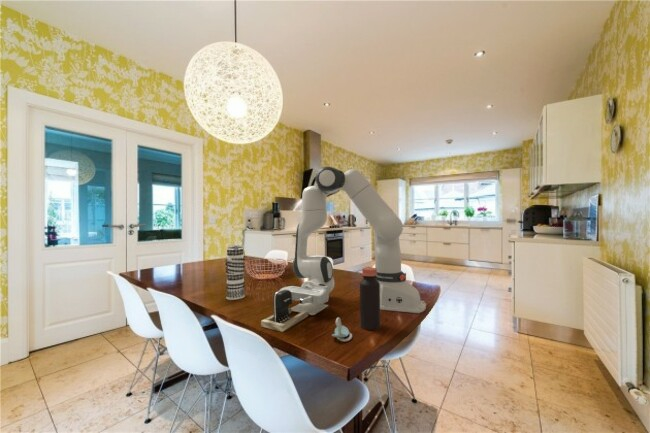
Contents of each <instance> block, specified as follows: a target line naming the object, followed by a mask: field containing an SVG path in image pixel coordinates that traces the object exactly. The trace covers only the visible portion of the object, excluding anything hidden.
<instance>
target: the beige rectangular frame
mask: <svg viewBox="0 0 650 433" xmlns="http://www.w3.org/2000/svg"><path fill="white" fill-rule="evenodd" d="M291 308H292V307H289V315H290V314H292V311H291ZM308 317H309V314H308V311H303V312H301V313H300V312H298V314H296V315H294V316H292V317H290V319H289V320H287V321H285V322H284V323H278V322H274V314H272V315H270V316H268V317H265V318H264V319H261V321H260V327H261V328H265V329H269V330H274V331H277V332H281V333H283V332H285V331H286V330H289V329H290V328H291V327H293V326H295V325H296V324H298V323H300V322H301V321H303V320H304V319H306V318H308Z"/></svg>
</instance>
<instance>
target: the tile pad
mask: <svg viewBox="0 0 650 433" xmlns="http://www.w3.org/2000/svg"><path fill="white" fill-rule="evenodd" d="M328 307H329V304H326V303H324V304H313V303H305V304H300V303H298V304H296V305H294V306H292V307H290V308H291V312H297V313H301V312H303V311H308V315H310V316H314V315H316V314H318V313H320V312H321V311H323V310H324V309H325V308H328Z"/></svg>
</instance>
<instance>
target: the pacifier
mask: <svg viewBox="0 0 650 433" xmlns="http://www.w3.org/2000/svg"><path fill="white" fill-rule="evenodd" d="M335 326H336V327H335V329H334V333H333V334H331V336H332V337H335V338H336V339H337V340H338V341H341V342H349V341H350V340H352V338H353V334H352V333H351V332H350V331H349V329H348V327H346V326H345V325H342V320H341V318H340V317H336V319H335ZM345 337H346V338H345Z"/></svg>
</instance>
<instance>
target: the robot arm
mask: <svg viewBox="0 0 650 433" xmlns="http://www.w3.org/2000/svg"><path fill="white" fill-rule="evenodd" d="M315 175H316V176H315V184H314V185H311V186H310V185H309V186H307V187H305V188H304V189H303V191H302V195H301V196H302V197H301V212H302V213H301V214H302V215H301V220H300V223H298V225H297V227H296V234H295V235H296V236H295V248H294V249H295V250H294V258H293V259H294V260H293V264H292V270H293V273H294V275H295V276H296V277H297V278H298V279H308V280H307V281H305V282H303V283H302V284H301V286H297V285H296V286H295V285H290V286H284V287H282V288H280V289H279V291H280V290H284V289H285V290H289V291H291V294H292V301H296V302H299V304H305V303H313V304H326V303H327V302H329V298H330V297H329V296H330V293H331V292H332V291H333V289H334V287H335V279H334V277H333V274H334V268H333V263H332V262H331V260H330V259H329V258H328V257H327V256H308V254H307V250H308V239H309V236H311V234H313V233H315V232H316V231H318V230H320V229H322V227H324V225H325V224H326V222H327V219H328V216H327V215H328V214H327V203H326V201H327V198H328V197H330V196H333V195H335V194H337V193H339V192H340V191H343V192H344V193H345V194H346V195H347V196H348V197H349V198H350V200H351V201H352V203H353V204H354V205H355V207H356V208H357V209H358V211H359V212H360V213H361V215H362V216H363V217H364V219H365V220H366V221H367V222H368V223H369V225H370V226H371V227H372V229H373V243H374V261H375V262H374V266H375V267H374V268H376V269H377V275H376V276H377V277H376V280H377V281H378V282H379V284H380V310H381V311H393V312H403V313H414V314H420V313H423V312H424V311H426V309H427V303H426V302H425V301H424V300H421V296H420V295H421V294H420V291H419V290H418V289H417V287H415V286H414V285H412V284H411V283H410V282H409V281H407V272H403V271H402V252H401V245H400V238H399V237H400V236H401V235H402V233H403V230H404V225H403V222H402V220H401V219H400V217H398V214H396V213H395V212H394V210H393V209H392V208H391V207H390V206H389V204H388V203H387V202H386V201H385V200H384V199H383V198H382V197H381V195H380V194H379V193H378V191H377V190H376V188H374V186H373V185H372V183H371V182H370V181H369V180H368V179H367V177H366V176H365V175H364V174H363V173H361V171H359V170H358V169H356V168H351V169H348V170H346V171H345V172H344V171H342V170H340V169H337V168H335V167H333V166H324V167H322V168H320V169H318V171H317V172H316V174H315Z"/></svg>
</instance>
